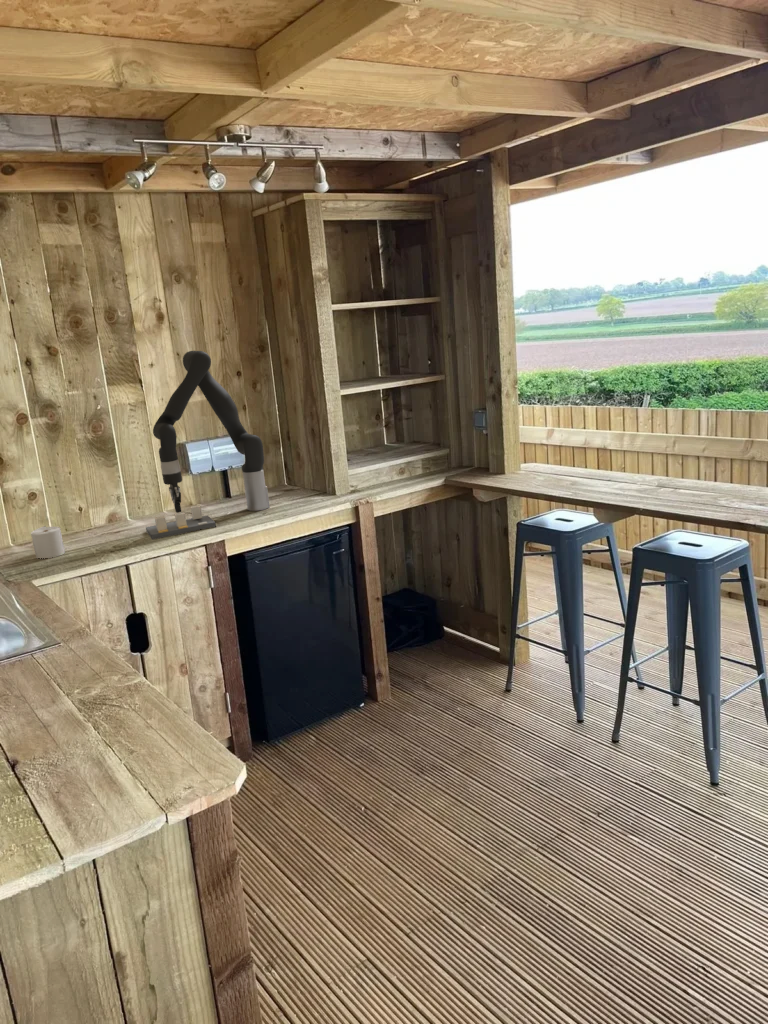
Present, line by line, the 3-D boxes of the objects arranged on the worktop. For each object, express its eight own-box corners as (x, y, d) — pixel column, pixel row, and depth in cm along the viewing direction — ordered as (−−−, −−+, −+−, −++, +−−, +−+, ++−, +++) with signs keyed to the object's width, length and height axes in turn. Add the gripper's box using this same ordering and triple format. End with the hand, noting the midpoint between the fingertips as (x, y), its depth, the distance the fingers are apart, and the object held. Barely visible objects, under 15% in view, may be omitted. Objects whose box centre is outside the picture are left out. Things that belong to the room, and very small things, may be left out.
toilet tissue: (47, 560, 297) (41, 535, 294) (28, 557, 303) (22, 532, 300) (71, 551, 305) (66, 527, 303) (51, 549, 312) (46, 525, 309)
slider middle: (185, 523, 322) (183, 512, 321) (186, 525, 319) (184, 513, 318) (176, 525, 321) (174, 513, 319) (178, 527, 318) (176, 515, 317)
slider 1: (165, 527, 319) (163, 515, 318) (167, 529, 316) (165, 517, 315) (156, 529, 317) (154, 517, 316) (158, 530, 315) (156, 519, 313)
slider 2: (200, 516, 331) (199, 505, 330) (202, 518, 329) (200, 506, 327) (192, 518, 330) (190, 506, 329) (193, 519, 327) (192, 508, 326)
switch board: (208, 519, 335) (207, 514, 334) (216, 526, 322) (215, 521, 322) (146, 531, 324) (145, 526, 324) (152, 539, 312) (150, 533, 311)
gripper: (183, 472, 314) (190, 513, 318) (177, 467, 325) (184, 507, 330) (164, 475, 311) (172, 517, 315) (159, 470, 322) (166, 510, 327)
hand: (178, 511), depth 323 cm, fingers closed
